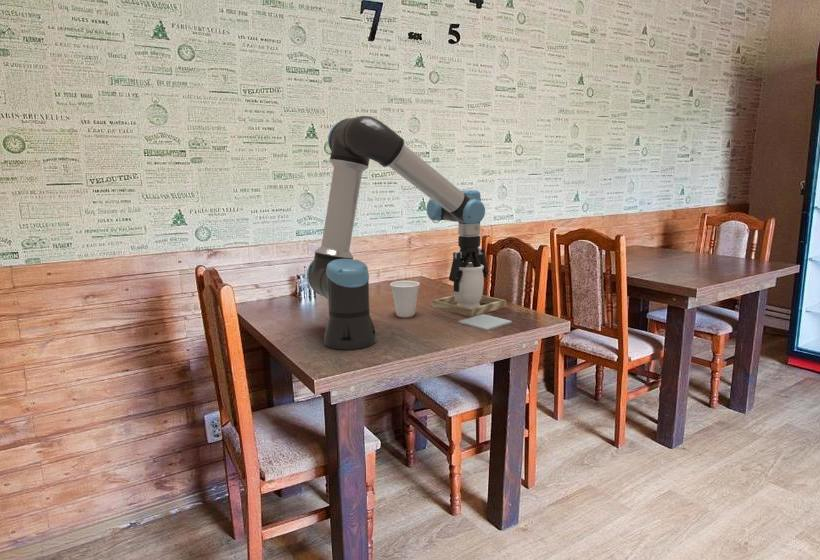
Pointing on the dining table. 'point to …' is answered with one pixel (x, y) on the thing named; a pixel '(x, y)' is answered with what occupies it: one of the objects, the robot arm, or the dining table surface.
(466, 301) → the jar
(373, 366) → the dining table surface
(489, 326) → the mat
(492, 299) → the square wooden frame
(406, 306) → the cup
